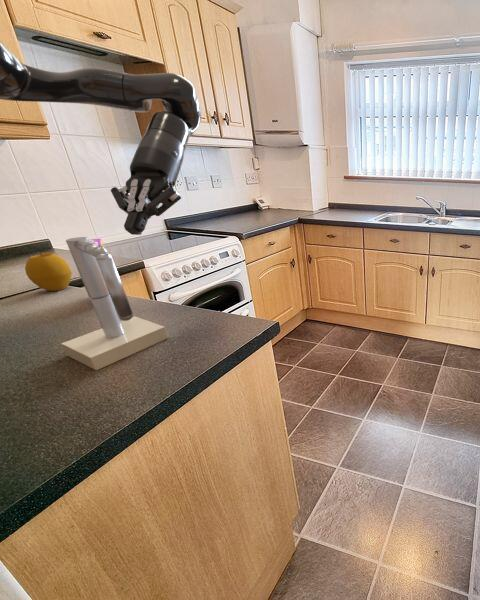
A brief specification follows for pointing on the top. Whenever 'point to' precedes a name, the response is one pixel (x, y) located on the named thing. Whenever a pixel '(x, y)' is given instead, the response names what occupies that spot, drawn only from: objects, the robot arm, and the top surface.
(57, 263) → the yellow fruit
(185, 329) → the top surface
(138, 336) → the tap stand
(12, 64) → the robot arm
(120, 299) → the spout
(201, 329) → the top surface
